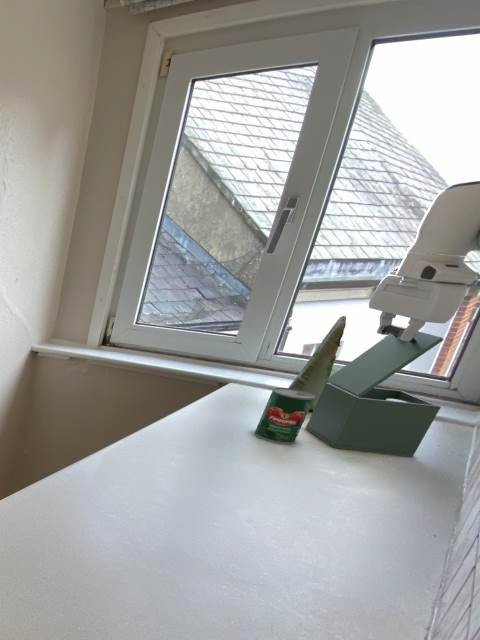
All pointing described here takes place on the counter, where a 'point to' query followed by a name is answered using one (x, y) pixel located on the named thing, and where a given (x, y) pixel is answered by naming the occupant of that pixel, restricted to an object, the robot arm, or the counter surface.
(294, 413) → the canned tomato
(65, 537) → the counter surface
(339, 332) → the pouch
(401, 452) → the chest
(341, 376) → the lid
